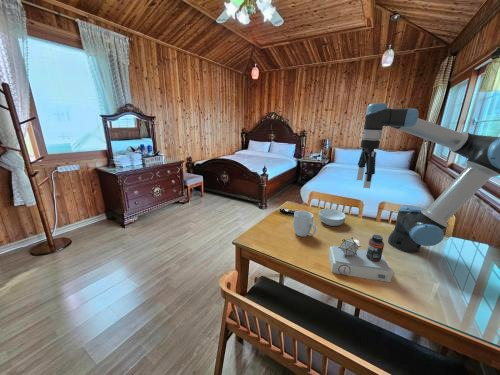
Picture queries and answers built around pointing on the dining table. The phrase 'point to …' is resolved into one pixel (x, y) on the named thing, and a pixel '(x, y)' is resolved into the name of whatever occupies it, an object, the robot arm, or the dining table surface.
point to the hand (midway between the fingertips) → (362, 183)
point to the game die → (349, 247)
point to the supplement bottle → (375, 248)
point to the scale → (359, 265)
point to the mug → (303, 223)
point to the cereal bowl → (332, 217)
